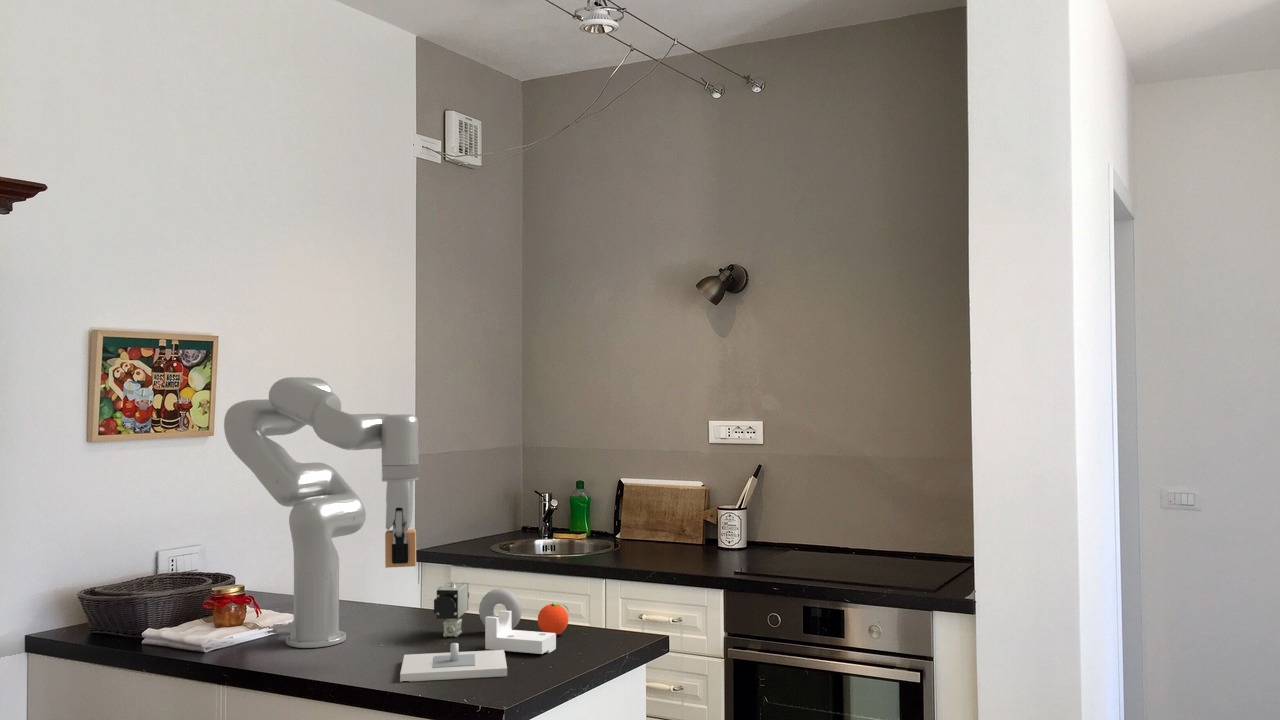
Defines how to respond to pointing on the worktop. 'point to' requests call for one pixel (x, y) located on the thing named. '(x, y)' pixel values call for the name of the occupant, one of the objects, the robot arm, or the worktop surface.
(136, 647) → the worktop surface
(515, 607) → the donut
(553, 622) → the clementine
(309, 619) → the robot arm
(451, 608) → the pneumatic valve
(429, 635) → the worktop surface
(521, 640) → the bracket
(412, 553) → the block
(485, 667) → the plate
